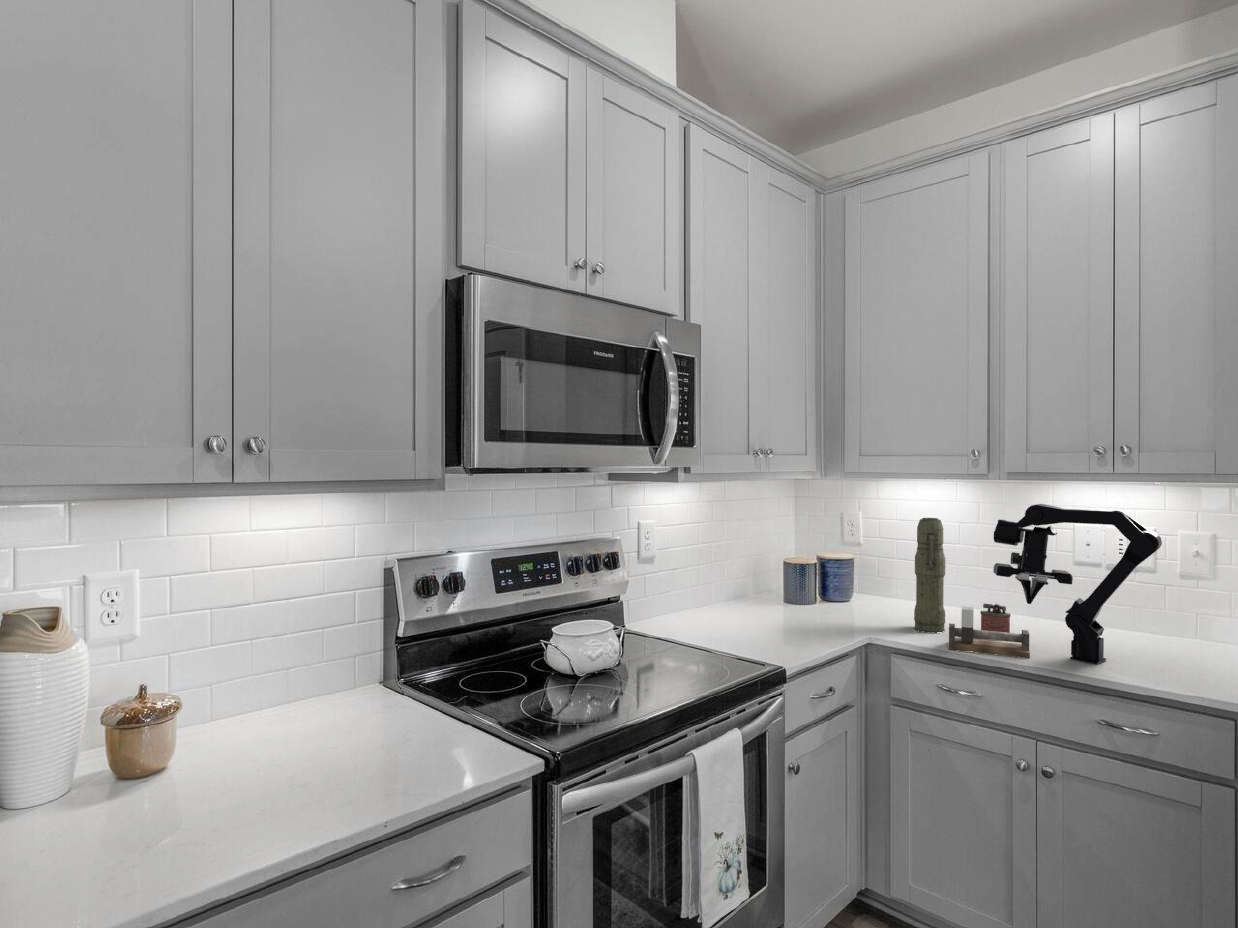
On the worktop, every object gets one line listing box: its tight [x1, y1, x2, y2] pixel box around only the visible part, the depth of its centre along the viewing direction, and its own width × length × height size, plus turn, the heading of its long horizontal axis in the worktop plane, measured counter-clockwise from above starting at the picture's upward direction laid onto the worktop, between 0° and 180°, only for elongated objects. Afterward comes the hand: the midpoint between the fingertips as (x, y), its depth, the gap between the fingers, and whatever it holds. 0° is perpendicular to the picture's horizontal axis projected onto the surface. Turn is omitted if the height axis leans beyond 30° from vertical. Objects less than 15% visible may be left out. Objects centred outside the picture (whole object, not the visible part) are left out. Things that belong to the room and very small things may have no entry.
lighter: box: [980, 603, 1011, 633], centre depth 220 cm, size 8×3×10 cm, turn 59°
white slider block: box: [960, 605, 974, 643], centre depth 208 cm, size 3×5×9 cm, turn 155°
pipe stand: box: [948, 622, 1031, 659], centre depth 206 cm, size 20×9×6 cm, turn 65°
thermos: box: [913, 517, 946, 634], centre depth 230 cm, size 9×12×35 cm
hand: (1028, 603), depth 205 cm, fingers closed
